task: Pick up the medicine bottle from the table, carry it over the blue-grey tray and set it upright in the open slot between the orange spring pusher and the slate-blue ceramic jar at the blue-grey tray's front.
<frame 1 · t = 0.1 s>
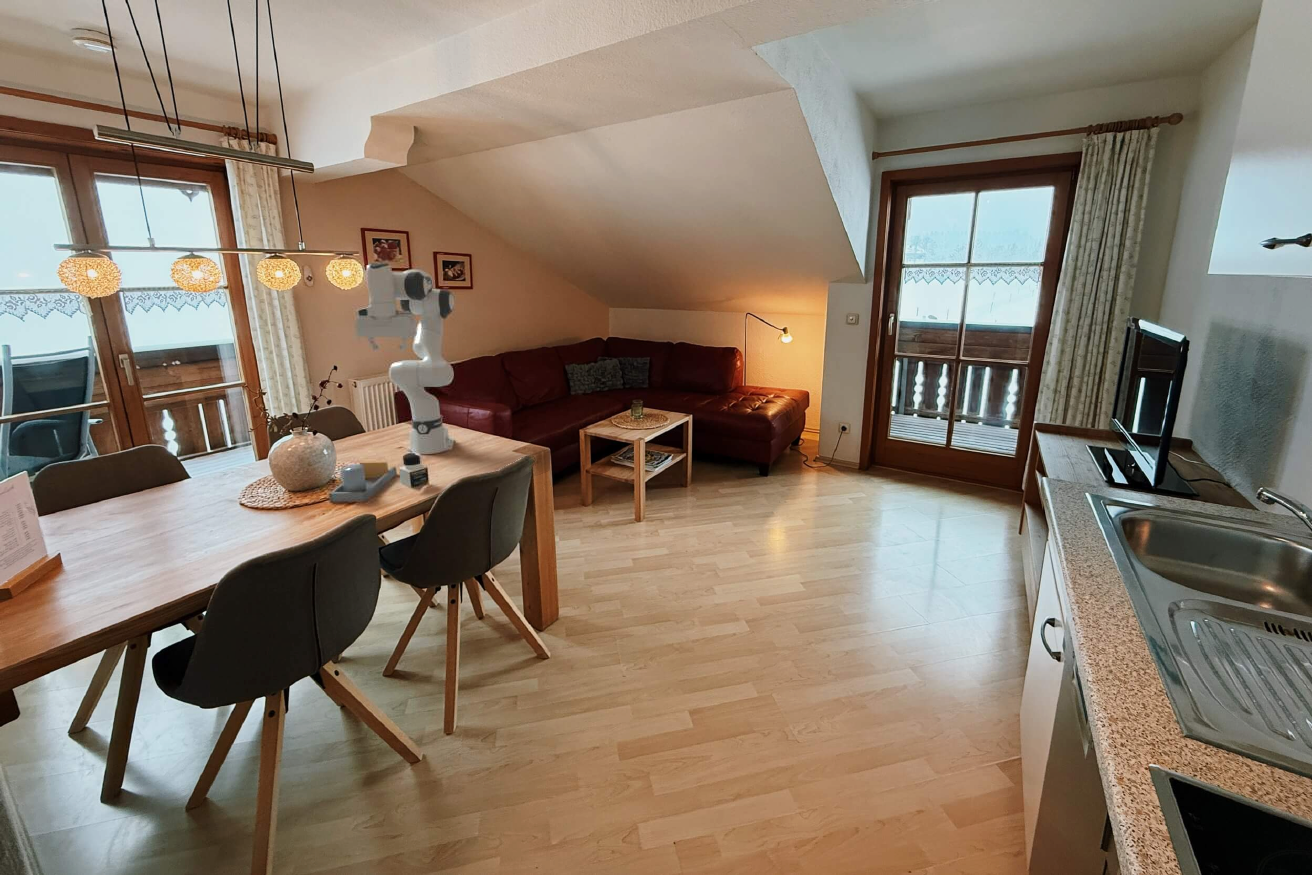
hand: (388, 349, 206), 48 cm above the table, tool pointing down, fingers open, 8 cm apart
pusher: (374, 469, 212), point 4 cm above the table, slide at 0.0 cm
blue-grey tray: (365, 489, 205), on the table
medicine bottle: (415, 485, 210), on the table
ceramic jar: (356, 495, 198), point 1 cm above the table, touching blue-grey tray
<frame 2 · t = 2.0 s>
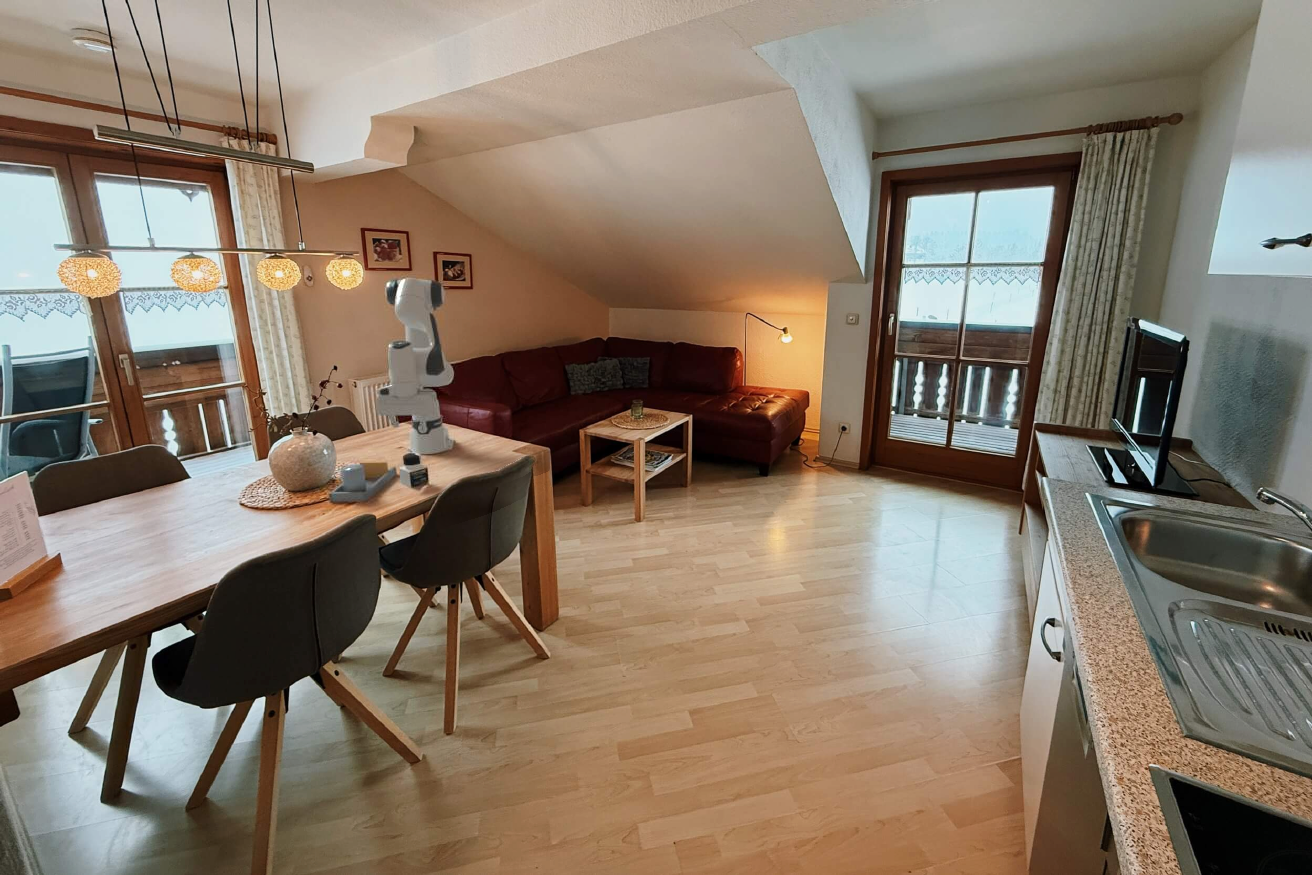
hand: (409, 426, 204), 22 cm above the table, tool pointing down, fingers open, 8 cm apart
nothing on the table moved.
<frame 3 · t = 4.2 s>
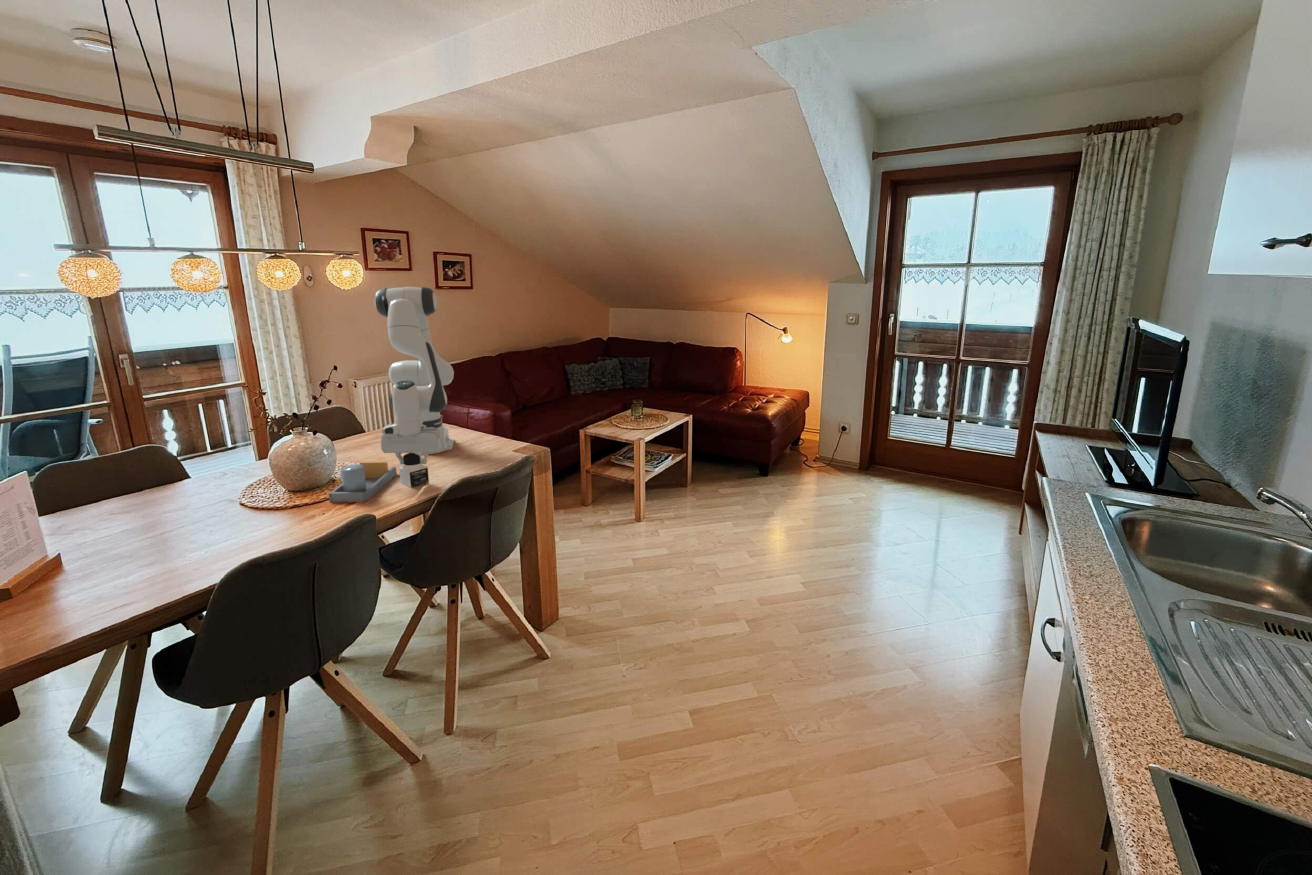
hand: (413, 463, 208), 8 cm above the table, tool pointing down, fingers open, 6 cm apart
medicine bottle: (415, 485, 210), on the table, touching gripper
everything else where it was.
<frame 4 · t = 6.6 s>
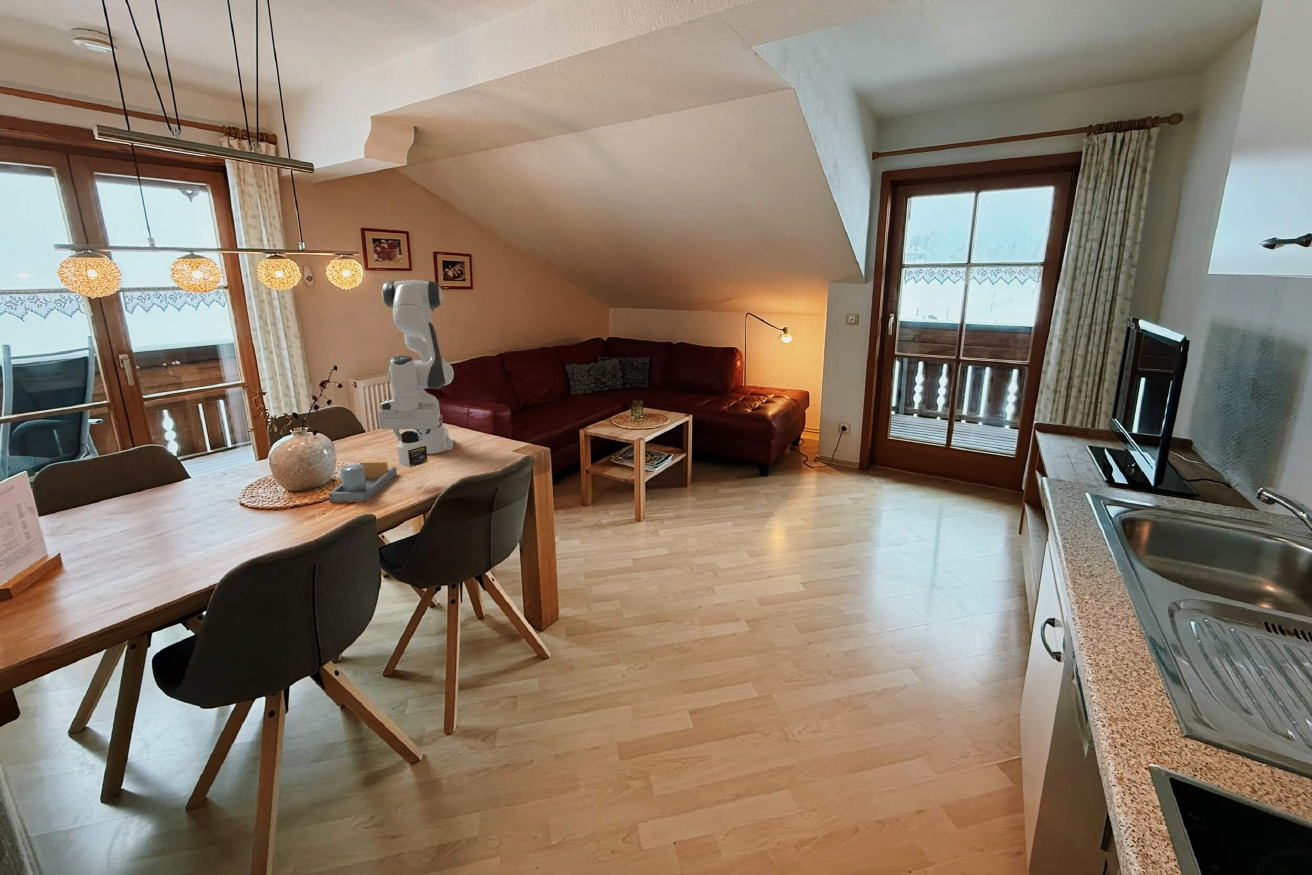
hand: (411, 440, 206), 17 cm above the table, tool pointing down, fingers closed on medicine bottle, 6 cm apart
medicine bottle: (413, 463, 208), point 8 cm above the table, touching gripper
everything else where it was.
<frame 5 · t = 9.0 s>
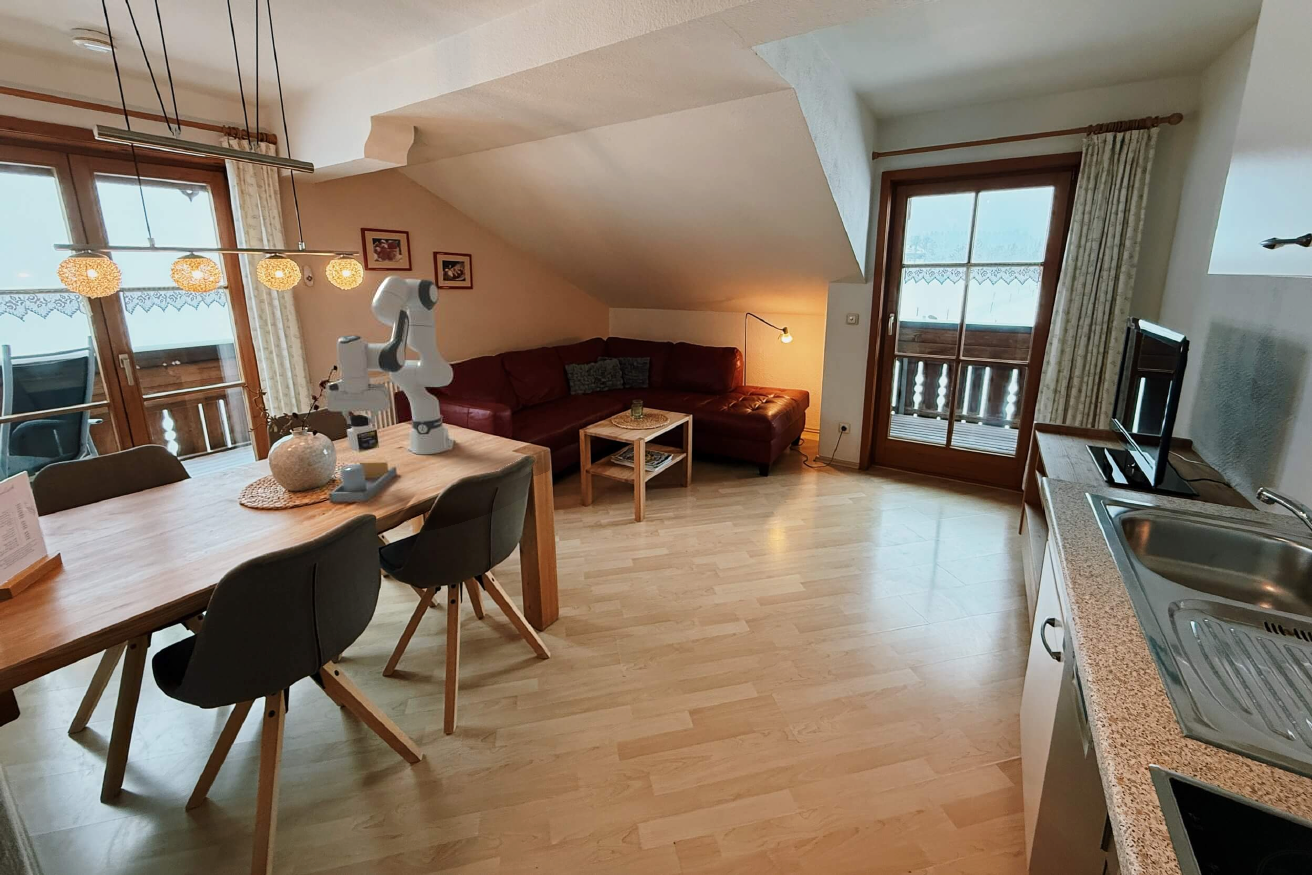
hand: (361, 423, 200), 24 cm above the table, tool pointing down, fingers closed on medicine bottle, 6 cm apart
medicine bottle: (364, 448, 202), point 15 cm above the table, touching gripper
everything else where it was.
when the fingers open (10 cm above the table, at t = 12.3 s): medicine bottle stays where it is, resting on blue-grey tray.
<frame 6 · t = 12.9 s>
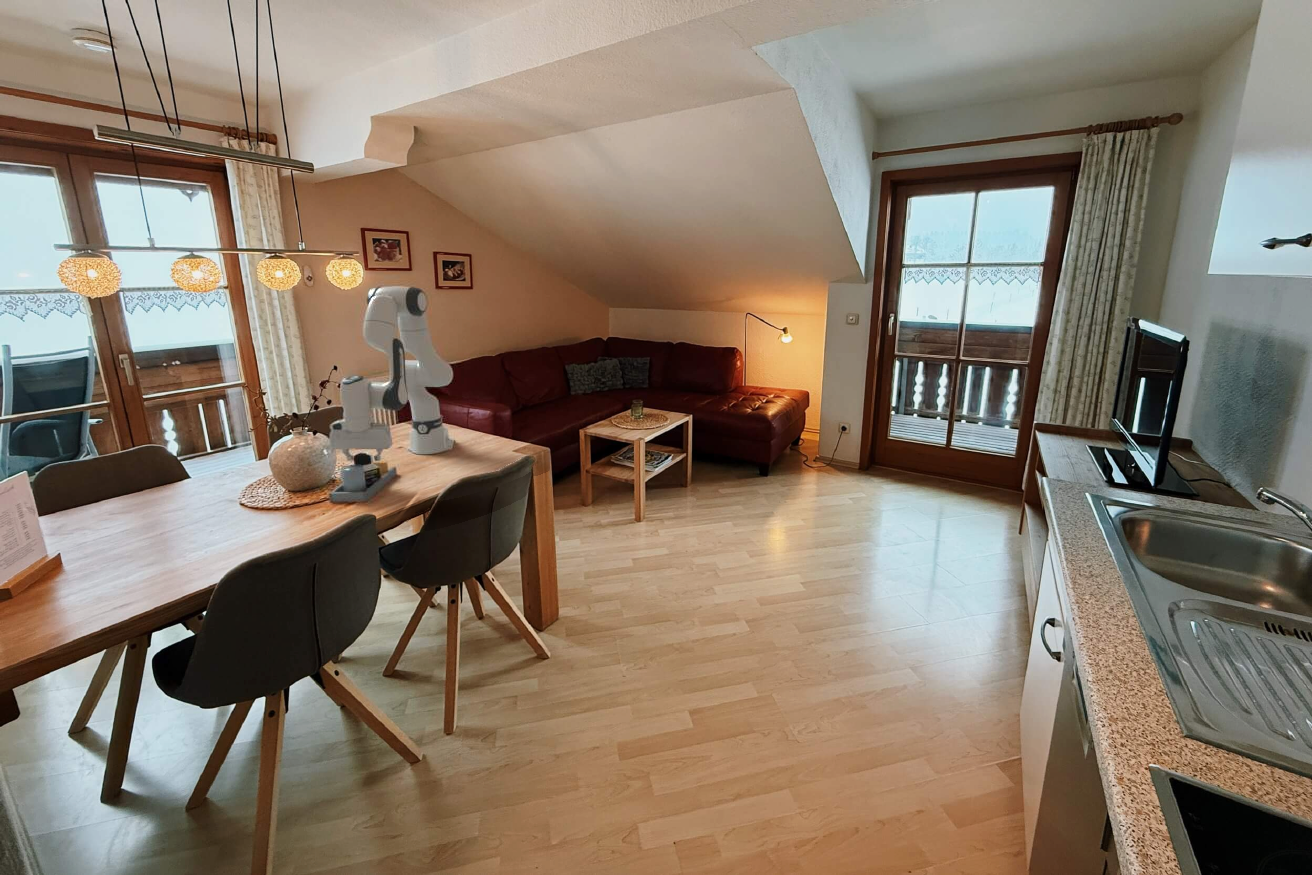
hand: (364, 460, 204), 10 cm above the table, tool pointing down, fingers open, 8 cm apart
medicine bottle: (367, 486, 206), point 1 cm above the table, touching blue-grey tray
everything else where it was.
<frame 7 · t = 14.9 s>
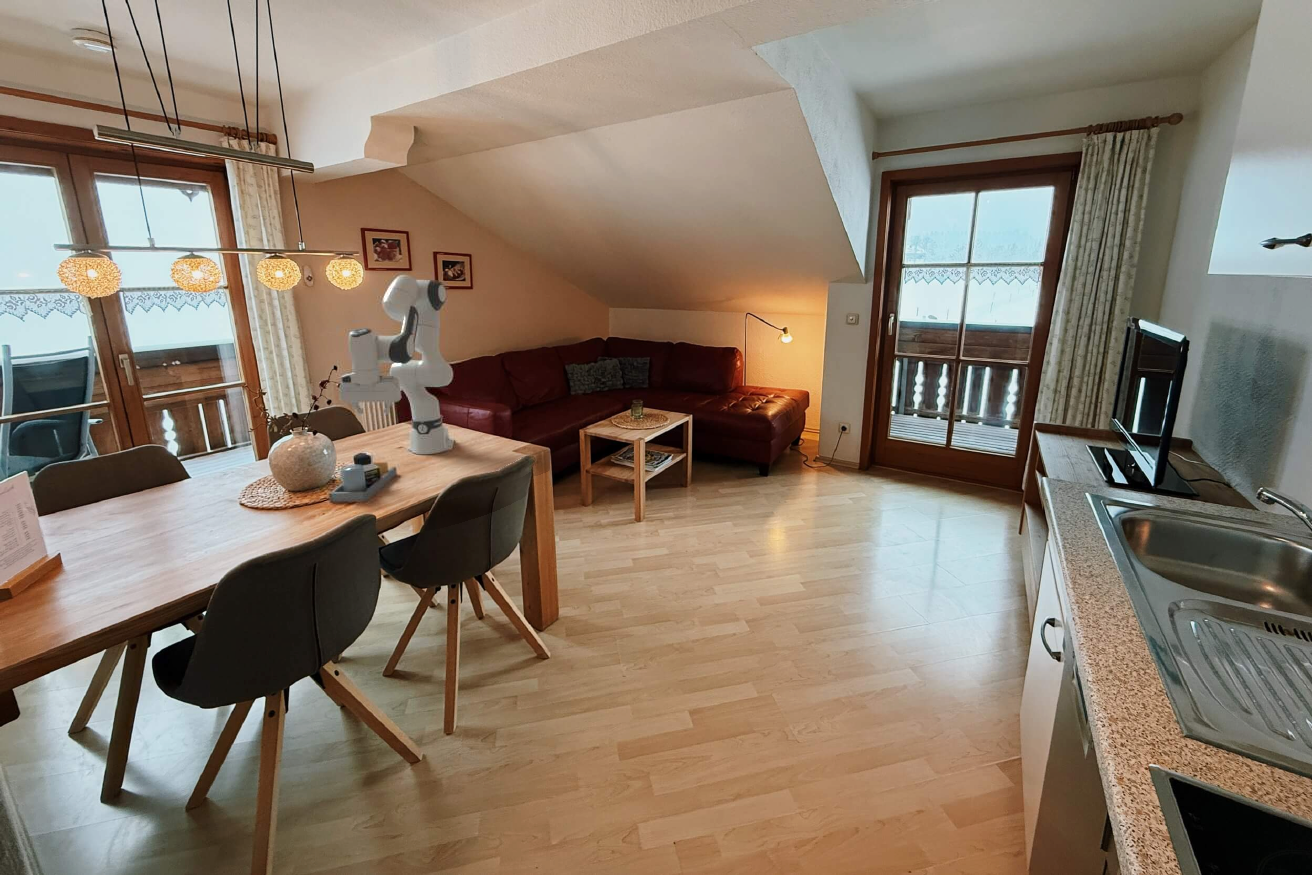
hand: (373, 413, 207), 26 cm above the table, tool pointing down, fingers open, 8 cm apart
nothing on the table moved.
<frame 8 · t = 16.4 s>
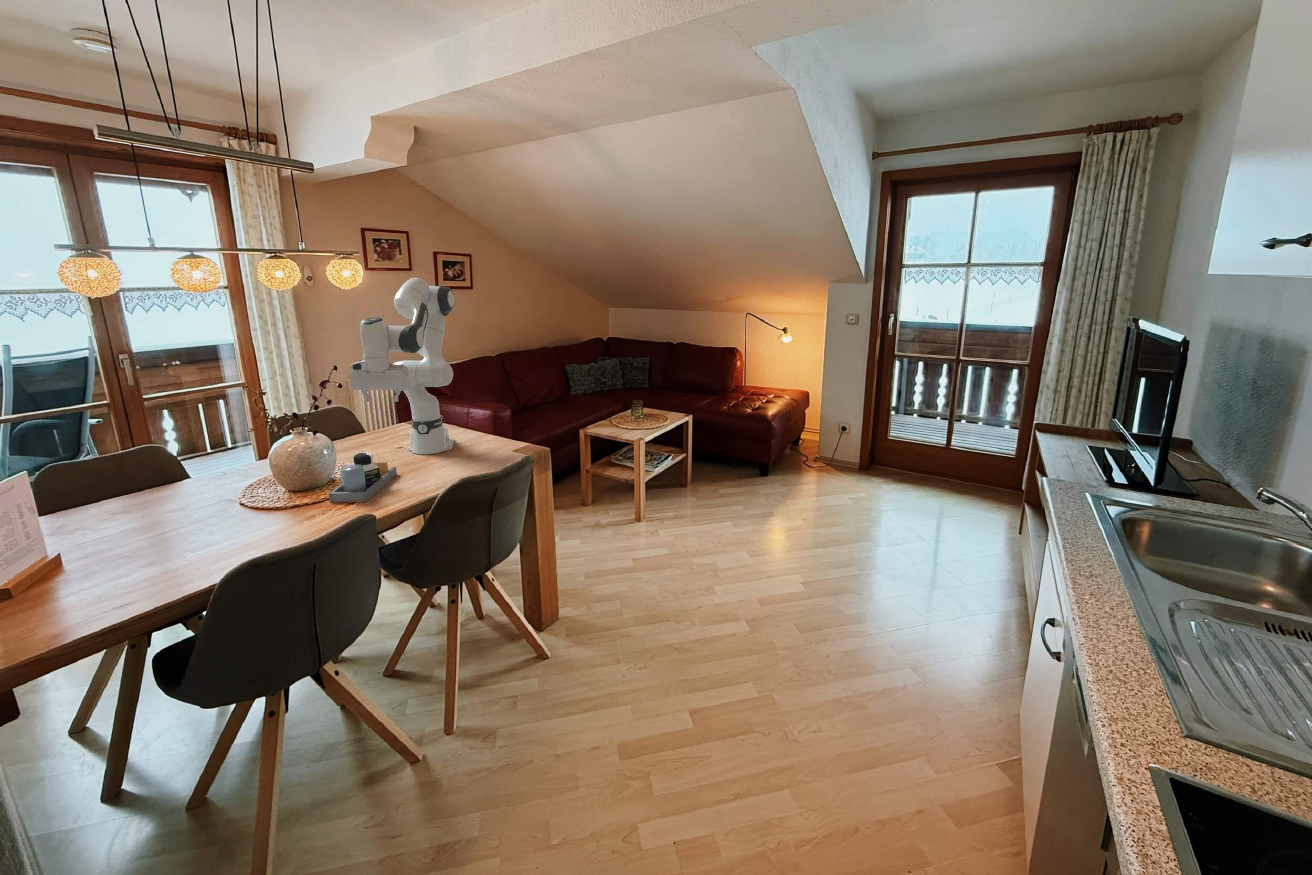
hand: (382, 401, 210), 29 cm above the table, tool pointing down, fingers open, 8 cm apart
nothing on the table moved.
at the end: medicine bottle inside the target area on the blue-grey tray (0.4 cm from its centre), point 0.8 cm above the blue-grey tray's base; medicine bottle tilted 0°; the gripper is holding nothing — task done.
